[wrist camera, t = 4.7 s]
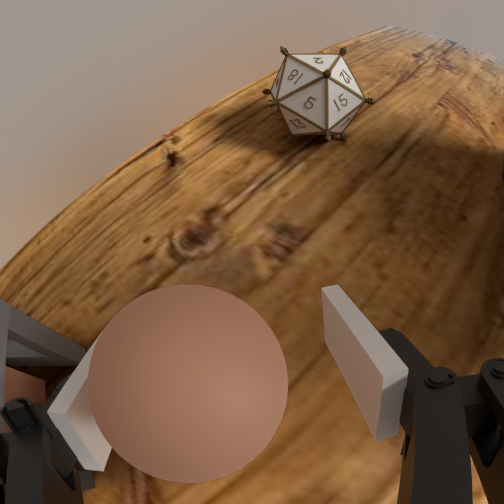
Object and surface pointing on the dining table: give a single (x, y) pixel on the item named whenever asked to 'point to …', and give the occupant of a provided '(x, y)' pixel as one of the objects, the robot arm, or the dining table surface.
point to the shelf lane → (34, 355)
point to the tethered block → (182, 383)
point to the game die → (316, 94)
